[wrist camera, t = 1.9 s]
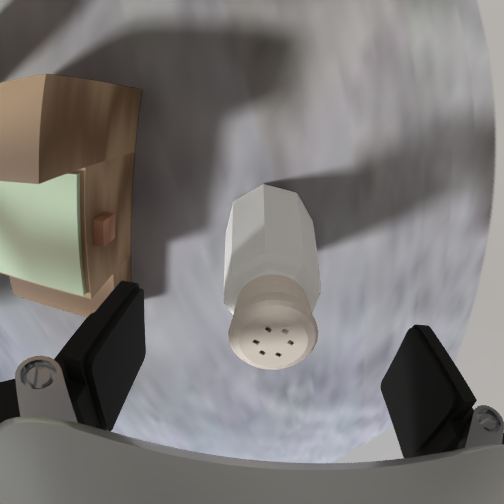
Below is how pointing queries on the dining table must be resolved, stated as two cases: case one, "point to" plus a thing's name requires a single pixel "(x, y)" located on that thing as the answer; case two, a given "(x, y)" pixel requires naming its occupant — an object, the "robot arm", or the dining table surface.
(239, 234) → the pepper shaker
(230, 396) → the dining table surface
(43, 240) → the stand
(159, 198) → the dining table surface
